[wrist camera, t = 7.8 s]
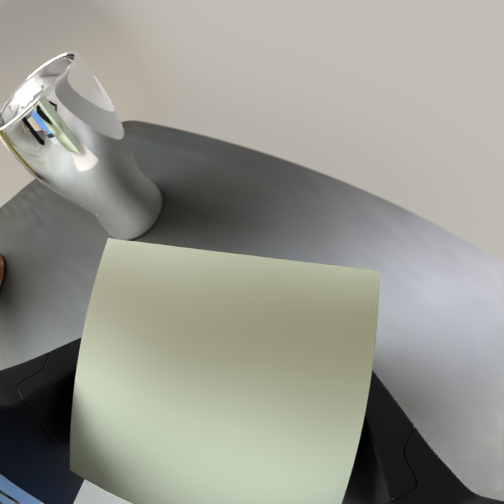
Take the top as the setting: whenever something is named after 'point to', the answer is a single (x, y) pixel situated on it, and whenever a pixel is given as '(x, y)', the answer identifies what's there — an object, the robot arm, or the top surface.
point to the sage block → (222, 377)
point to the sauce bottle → (1, 269)
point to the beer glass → (79, 145)
